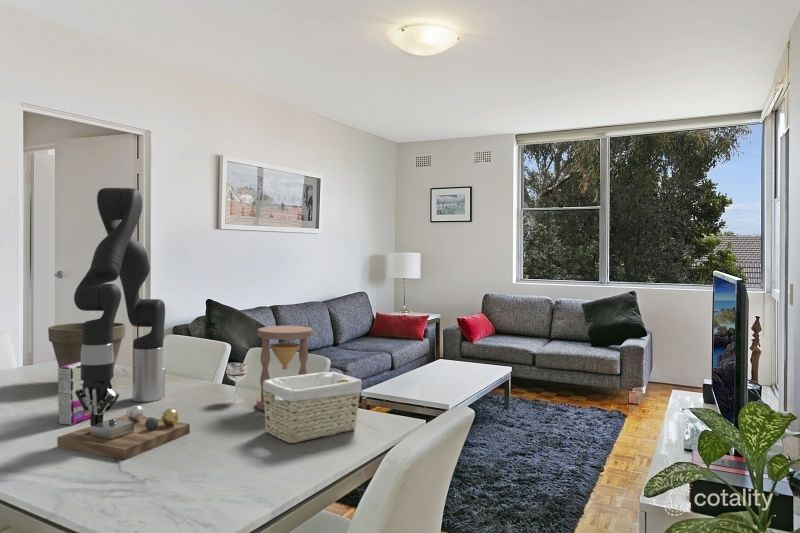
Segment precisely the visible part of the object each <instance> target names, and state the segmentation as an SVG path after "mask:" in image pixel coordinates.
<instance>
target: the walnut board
mask: <svg viewBox="0 0 800 533" xmlns="http://www.w3.org/2000/svg"><path fill="white" fill-rule="evenodd" d="M148 418H149V417H146V416H143V418H142V419H141V420H139V421H132V422H134V431H133V432H130V433H127V434H125V435H122V436H119V437H116V438H114V439H108V438H102V437H97V436H91V425H90V426H87V427H85V428H81V429H77V430H75V431H72V432H69V433H66V434H63V435H60V436H57V437H56V438H57V440H56V442H57V443H56V444H57V448H62V449H65V450H66V449H67V450H71V451H77V452H82V453H88V454H92V455H98V456H104V457H108V458H115V459H119V460H125V461H126V460H127V459H130V458H133V457H135V456H138V455H140V454H142V453H145V452H147V451H150V450H152V449H154V448H157V447H159V446H162V445H164V444H166V443H169V442H171V441H174V440H176V439H179V438H181V437H183V436H186V435H188V433H189V434H190V428H191V425H190V423H186V422H179V421H177V422H176V423H175V424H173V425H170V426H169V425H165V424H164V423H163V422H162V420H161V419H159V418H156V419H157V420H158V426H157V427H156V428H155V429H153V430H149V429H147V428H146V426H145V422H146V420H147V419H148ZM114 419H119V420H125V421H131V420H129V419H128V417H127V414H125V415H121V416H119V417H115V418H114Z"/></svg>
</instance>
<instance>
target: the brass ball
mask: <svg viewBox="0 0 800 533" xmlns="http://www.w3.org/2000/svg"><path fill="white" fill-rule="evenodd" d="M179 417H180V416H179V412H178V411H177V410H176V409H174V408H167V409H165V410H164V411H163V412H162V414H161V420H162V422H163V423H164V424H165V425H169V426H170V425H173V424H175V423H176V422H179Z"/></svg>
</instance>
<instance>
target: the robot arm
mask: <svg viewBox="0 0 800 533" xmlns="http://www.w3.org/2000/svg"><path fill="white" fill-rule="evenodd" d="M96 204H97V209H98V210H97V211H98V214H99V215H100V218H101V221H102V223H103V224H102V225H103V226H104V228H105V231H106V234H107V235H106V236H105V237H104V238H103V239H102V240H101V241H100V242H99V244H98V245H97V246H96V249H95V251H94V253H93V257H92V261H91V262H90V263H91V264H90V268H89V269H88V270H87V272H86V274H85V275H84V276H83V278H82V280H81V281H80V282H79V284H78V285H77V287H76V289H75V292H74V296H73V302H74V304H75V306H76V308H78V310H80V311H84V312H93V311H94V312H103V313H102V316H100V317H99V318H96V319H90V320H87V321H85V322H83V323H84V324H83V327H82V349H81V380H82V381H84V382H83V385H82V388H81V389H80V390H77V391H76V392H75V393H76V395H77V397H78V399H79V401H80V403H81V405H82V407H83V409H84V410H85V411H89V414H90V419H89V421H90V423H89V424H90V426H92V425H95V424H98V423H101V422H104V413H105V412H106V413H107V412H109V411H111V409H112V407H113V406H114V405H115V403H116V401H117V400H118V399H119V397H120V394H119V393H118V392H116V393H115V392H114V391H113V390H112V389H113V385H112V383H111V382H112V379H113V378H114V374H115V373H114V372H115V371H114V370H115V367H114V349H113V326H114V323H115V320H116V316H117V313H118V310H119V307H120V304H121V300H122V291H123V294H124V301H125V306H126V307H125V309H126V313H127V318H128V321H129V324H130V325H131V326H133V327H138V328H140V327H141V328H150V332H148V333H147V334H145V335H143V336H139V337H137V338H134V339H133V341H132V392H131V394H132V395H131V396H132V400H131V401H134V402H139V403H146V402H147V403H148V402H155V401H159V400H161V399H162V398H164V397H165V396H166V395H165V394H166V393H165V392H166V390H165V389H166V369H165V367H164V338H165V320H166V306H165V305H166V304H165V303H164V301H163V300H162V299H158V298H155V299H153V298H152V299H151V298H140V297H139V291H140V289H141V288H142V286H143V284H144V283H145V281H146V279H147V277H148V276H149V273H150V269H151V266H150V261H149V257H148V252H147V251H146V249H145V247H144V245H142V243H141V242H140V241H139V240H138V239H137V238H136V237H134V236H133V233H134V232H135V229H136V227H137V225H138V223H139V220H140V217H141V215H142V211H143V197H142V194H141V193H140V191H139V190H138V189H137V188H133V187H103V188H100V190H98V193H97V196H96ZM118 278H119V280H120V283H121V286H122V291H121V289H120V287H119V285H116V284H114V283H111V282H114V281H116V280H117V279H118ZM92 400H93V401H92ZM86 402H87V404H86Z"/></svg>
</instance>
